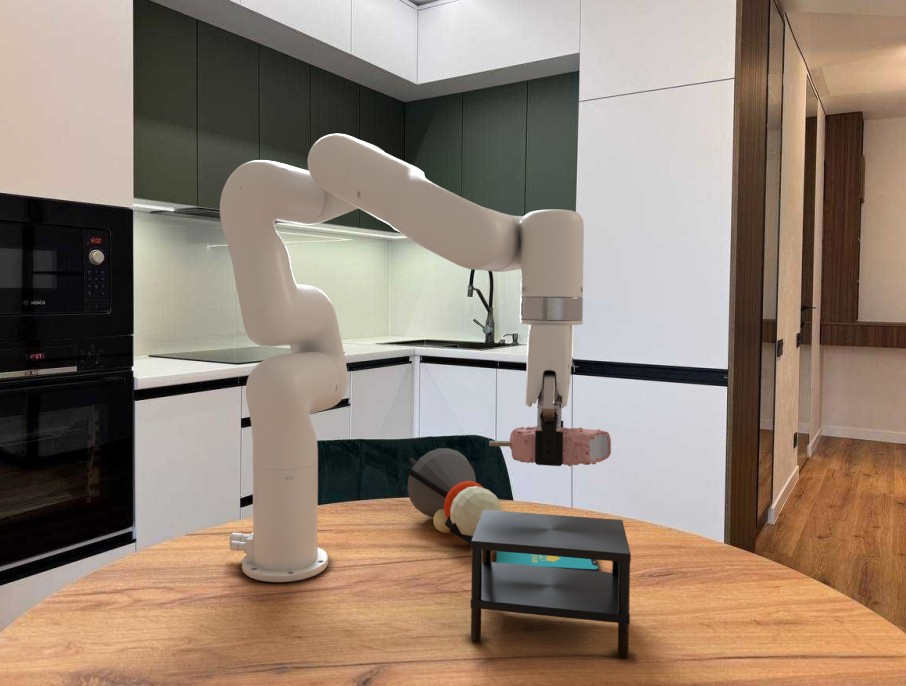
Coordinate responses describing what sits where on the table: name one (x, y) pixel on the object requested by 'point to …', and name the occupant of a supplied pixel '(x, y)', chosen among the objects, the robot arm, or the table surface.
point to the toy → (449, 492)
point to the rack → (551, 569)
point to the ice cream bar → (576, 445)
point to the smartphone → (547, 561)
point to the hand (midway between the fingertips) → (549, 456)
